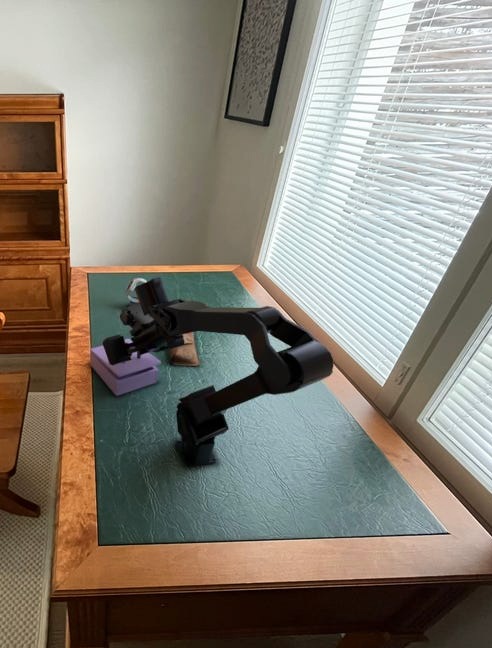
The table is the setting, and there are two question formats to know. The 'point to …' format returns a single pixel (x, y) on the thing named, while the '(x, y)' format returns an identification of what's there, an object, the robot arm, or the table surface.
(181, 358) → the sunglasses case
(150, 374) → the box
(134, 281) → the watch
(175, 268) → the table surface
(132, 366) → the purple square slab
